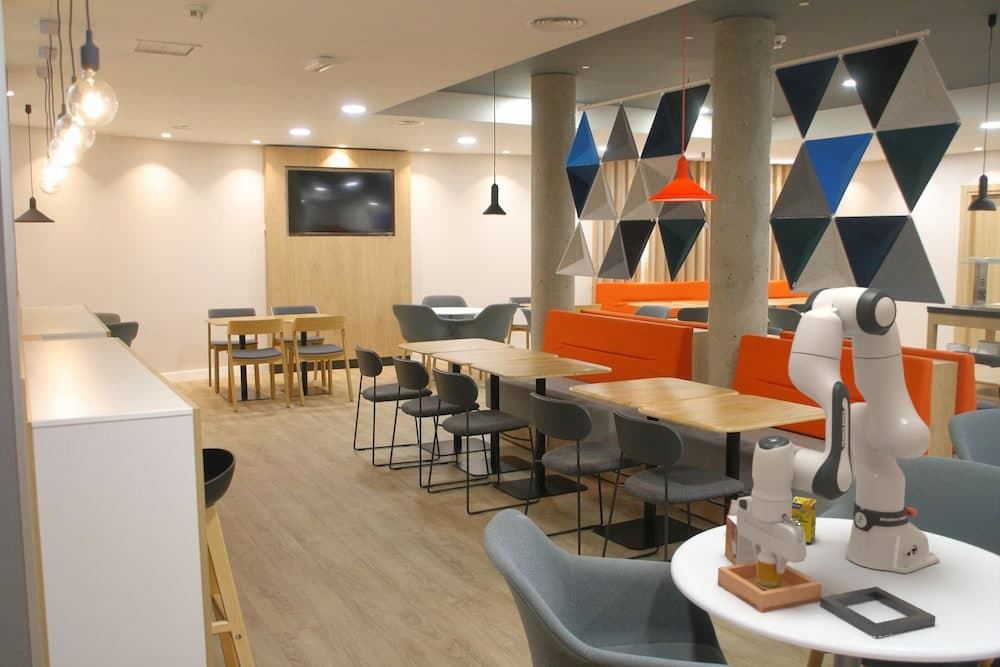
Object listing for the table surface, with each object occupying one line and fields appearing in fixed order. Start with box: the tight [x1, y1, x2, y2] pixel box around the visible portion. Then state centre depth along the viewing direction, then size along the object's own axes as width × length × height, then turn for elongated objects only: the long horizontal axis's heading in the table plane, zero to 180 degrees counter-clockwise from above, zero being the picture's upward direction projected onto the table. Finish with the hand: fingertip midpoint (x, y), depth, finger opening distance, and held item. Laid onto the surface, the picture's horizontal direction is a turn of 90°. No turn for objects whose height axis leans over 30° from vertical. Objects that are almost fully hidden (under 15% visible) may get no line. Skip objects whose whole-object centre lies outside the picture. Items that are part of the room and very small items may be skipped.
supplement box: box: [792, 495, 818, 546], centre depth 225 cm, size 6×6×11 cm
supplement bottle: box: [756, 545, 781, 590], centre depth 192 cm, size 5×5×10 cm
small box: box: [724, 515, 755, 565], centre depth 211 cm, size 8×6×10 cm
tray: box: [717, 561, 822, 613], centre depth 193 cm, size 16×16×4 cm
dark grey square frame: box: [819, 586, 936, 637], centre depth 181 cm, size 16×16×2 cm
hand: (769, 566), depth 192 cm, fingers closed on supplement bottle, 5 cm apart
